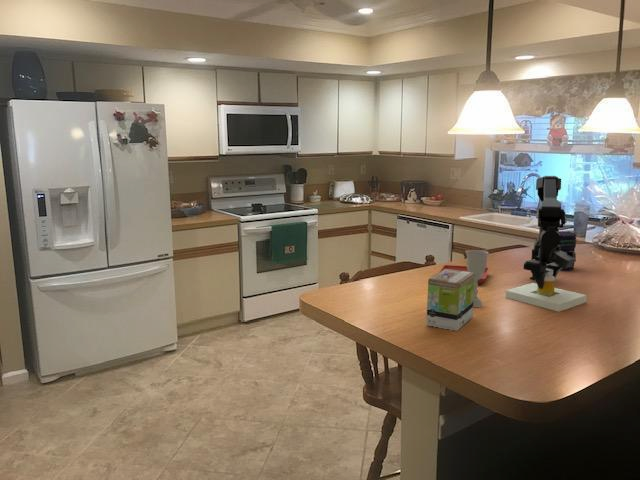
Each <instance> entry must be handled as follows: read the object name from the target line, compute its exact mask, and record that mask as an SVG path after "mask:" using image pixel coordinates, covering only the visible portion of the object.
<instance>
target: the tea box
mask: <svg viewBox="0 0 640 480" xmlns="http://www.w3.org/2000/svg"><path fill="white" fill-rule="evenodd" d="M427 283H428V284H427V298H426V299H427V301H426V302H427V303H426V321H425V325H426V326H429V327H432V326H433V327H432V328H436V327H438V329H442V328H443V330H447V329H449V331H453V330H455V331H454V332H458V331H459V329H461V328H462V327H463V326H465V324H466V323H468V321H470V320H471V319H472V318H473V315H474V307H473V301H474V283H475V273H473V272H466V271H458V270H450V269H444V270H443V271H441V272H439V271H438V272H437V273H436V274H434V275H432V276H431V277H429V278H428V281H427Z"/></svg>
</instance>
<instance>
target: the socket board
mask: <svg viewBox="0 0 640 480" xmlns="http://www.w3.org/2000/svg"><path fill="white" fill-rule="evenodd" d="M504 297H505V298H506V299H510V300H514V301H517V302H522V303H525V304H529V305H532V306H537V307H538V308H539V307H541V308H543V309H548V310H552V311H555V312H557V313H558V312H559V313H560V312H563V311H566V310H568V309H570V308H571V309H572V308H573V307H577V306H579V305H583V304H586V302H587V294H583V293H579V292H574V291H570V290H566V289H562V288H557V287H554V296H550V297H547V296H543V295H539V294H537V283H536V282H531V283H527V284H524V285H523V284H522V285H519V286H517V287H513V288H509V289H506V290H505V296H504Z"/></svg>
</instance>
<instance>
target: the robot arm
mask: <svg viewBox="0 0 640 480" xmlns="http://www.w3.org/2000/svg"><path fill="white" fill-rule="evenodd" d="M535 190H536V191H537V196H538V198H539V200H540V207H538V209H537V227H538V228H539V229H538V230H539V231H538V238H537V239H536V240H535V242H534V244H533V248H531V255H530V259H529V260H526V261H525V262H524V263H523V265H522V266H523V270H525V271H530V272H531V274H532V276H530V277H529V279H530V280H534V281H535V283H536V284H537V285H538V287H539V289H543V285H544V279H545V274H546V273H548V272H549V271H548V270H546V268H547V269H552V270H553V275H552V276H554V277H555V279H556V278H557V276H558V273H559V272H560V271H559V270H561V269H562V268H568V267H571V266H572V264H573V262H575V263H576V262H577V260H576V259H577V257H576V256H577V253H576V251H575V252H573V251H569V252H568V253H566V252H563V251H561V247H560V246H559V244H560V241H561V238H560V235H559V231H560V229H559V228H564V226H565V225H566V212H565V209H564V208H562V202H561V201H559V200H558V196H559V191H561V190H562V178H559V177H558V176H556V175H543V176H541V177H538V178H537V179H536V181H535Z"/></svg>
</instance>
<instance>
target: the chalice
mask: <svg viewBox="0 0 640 480" xmlns="http://www.w3.org/2000/svg"><path fill="white" fill-rule="evenodd" d="M465 254H466V266H467V269H468V272H473V273H475V283H474V301H473V308H481V306H482V307H483V306H484V305H483V302H482V299H481V298H480V297H478V292H479V290H478V286H479V284H477V281H478V280H479V279H481V277H482V275H483V273H484V272H485V269H486V267H487V259H488V258H487V257H488V255H489V251H487V250H481V249H470V250H465Z"/></svg>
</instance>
